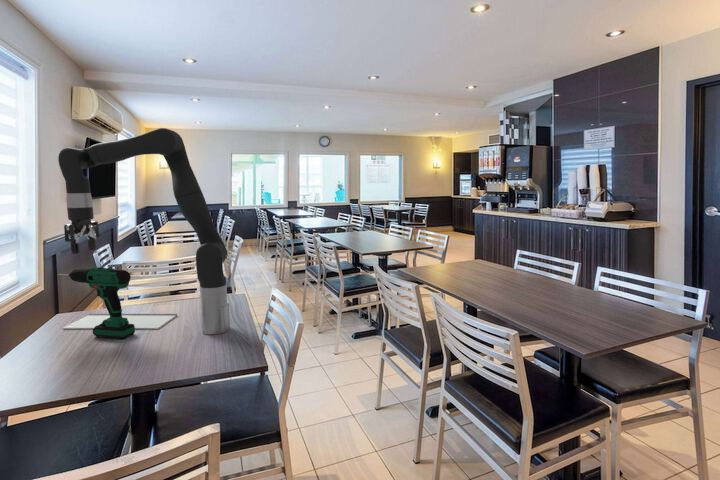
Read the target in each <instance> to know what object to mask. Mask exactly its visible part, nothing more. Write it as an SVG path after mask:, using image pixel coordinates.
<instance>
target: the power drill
mask: <svg viewBox="0 0 720 480" xmlns="http://www.w3.org/2000/svg"><path fill="white" fill-rule="evenodd" d="M57 275H58V276H68V277H69V278H70V280H72V281H74V282H76V283H84V284H88V286H89V287H90V288H91V289H95V290H96V293H97V294H96V296H97V297H99V298H100V299H101V300H102V301H103V302H104V306H105V307H106V310H107V312H108V314H109V315H110V317H109V318H108V319H106V320H104V321H103V322H102V323H101V324H100V325H97V326H95V327H94V329H92V334H93V335H94V336H95V337H101V338H110V339H120V340H125V339H127V338H129V337H131V336H133V335H135V331H136V329H135V326H134V324H128V323H129V321H128V320H127V318H123V317H122V314H123V308H122V305H121V300H120V297H119V295H118V292H119V290H120V289H121V290H123V289H126V288H127V287H129V284H130V281H131V279H132V277H131V273H130V272H129V271H128V270H125V269H116V268H113V267H112V266H111V267H107V268H105V267H102V266H100V267H97V266H93V267H91V268H79V269H73V270H72V271H71V272H70V273H68V274H67V273H63V274H61V273H59V274H58V273H57Z"/></svg>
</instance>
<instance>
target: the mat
mask: <svg viewBox="0 0 720 480" xmlns="http://www.w3.org/2000/svg"><path fill="white" fill-rule="evenodd" d="M109 317H110V315H109V313H88V315H87V316H84V317H81V319H78V320H76V321H74V322H72V323H70V324H66V325H65V326H64V327H62V330H93V329H94V327H95V326H97V325H100V324H101V323H102V322H103V321H104V320H106V319H108V318H109ZM122 317H123V318H127V320H128V321H129V323H128V324H134V326H135V330H159V329H161V328H162V327H164V326H165V325H166V324H168V323H169V322H171V321H172V320H174V319H175V318H176V317H178V313H122Z"/></svg>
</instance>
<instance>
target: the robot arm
mask: <svg viewBox="0 0 720 480" xmlns="http://www.w3.org/2000/svg"><path fill="white" fill-rule="evenodd" d="M186 149H187V148H186V146H185V143H184V140H183V138H182V137H181V135H180V134H179V133H178V132H176V131H174V130H171V129H169V128H166V127H160V128H157V129H153V130H150V131H148V132H146V133H143V134H140V135H136V136H133V137H130V138H129V137H128V138H125V139H124V138H123V139H119V140H112V141H107V142H100V143H96V144H93V145H91V146H89V147H86V148H76V147H64V148H63V149H61V150H60V151H59V154H58V165H59V168H60V171H61V174H62V176H63V178H64V181H65V190H66V198H65V199H66V202H65V203H66V210H67V219H68V220H69V221H71V223H70V224H64V225H63V228H64V229H63V230H64V232H63V233H64V242H66V243H69V244H70V251H71V254H72V255H78V254H80V244H79V241H80V239H81V238H82V237H83V236H85V237H86V238H87V239H88V240H87V245H88V246H87V247H88V250H89V251H96V249H97V246H96V240H97V238H99V237H100V229H99V222H98V221H97V220H94V218H95V216H94V206H93V198H92V197H93V196H92V193H91V184H90V183H91V182H90V179H89V178H88V177H87V176H85V175H84V173H83V170H86V169H90V168H94V167H97V166H100V165H108V164H113V163H118V162H122V161H126V160H127V159H130V158H134V157H137V156H142V155H143V156H144V155H161V156H163V158H164V159H165V161H166V164H167V166H168V168H169V171H170V175H171V181H172V191H173V196H174V198H175V201H176V204H177V206H178V209H179V211H180V212H181V214H182V216H183V217H184V218H185V220H186V221H187V222H188V224H189V225H190V226H191V228H192V229H193V230H194V232H195V234H196V236H197V239H198V241H199V244H200V245H199V247H198V248H197V249H196V252H195V268H196V277H197V280H198V282H199V294H200V295H199V296H200V297H199V298H200V311H201V312H200V316H201V317H200V318H201V332H202V334H205V335H217V334H225V333H226V332H228V330H230V328H231V316H230V315H231V314H230V311H231V310H230V303H229V302H228V294H227V293H228V291H227V290H228V289H227V277H226V276H225V274H224V265H223V263H224V262H225V261H226V259H227V257H228V250H227V247H226V245H225V243H224V241H223V239H222V237H221V236H220V233H219V231H218V230H217V228H216V226H215V223H214V220H213V217H212V215H211V211H210V209H209V207H208V205H207V201H206V199H205V197H204V194H203V193H204V192H203V191H202V189H201V186H200V185H199V183H198V180H197V178H196V177H197V176H196V175H195V172H194V170H193V168H192V166H191V163H190V160H189V157H188V153H187V150H186ZM69 236H70V237H69Z"/></svg>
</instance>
